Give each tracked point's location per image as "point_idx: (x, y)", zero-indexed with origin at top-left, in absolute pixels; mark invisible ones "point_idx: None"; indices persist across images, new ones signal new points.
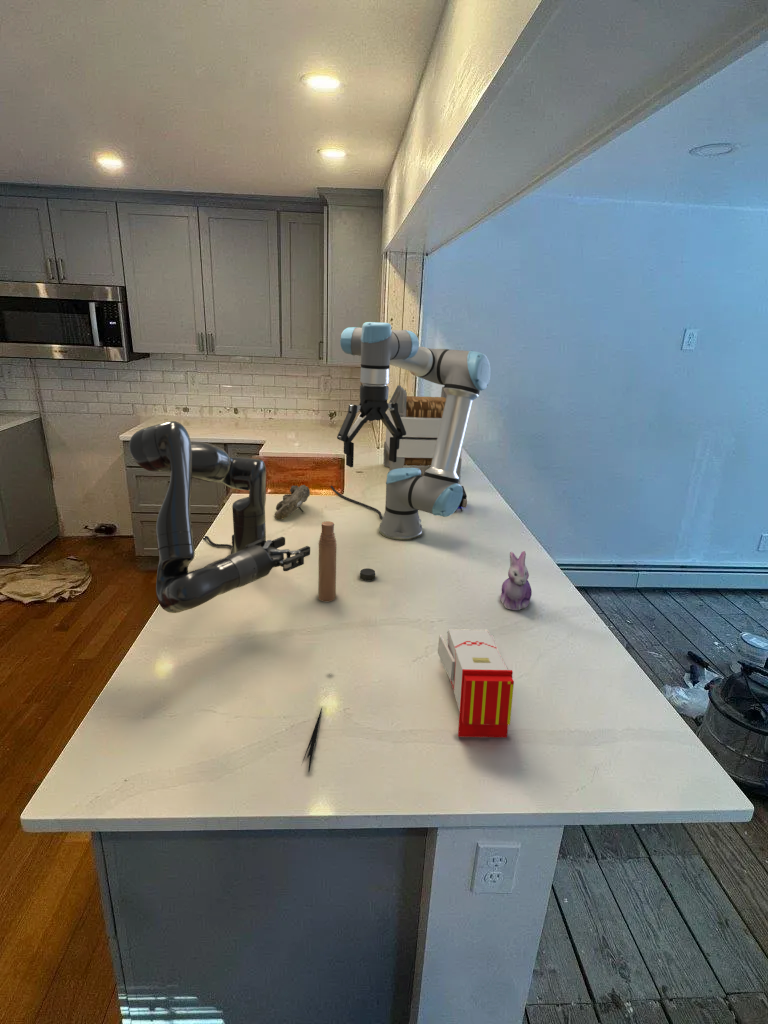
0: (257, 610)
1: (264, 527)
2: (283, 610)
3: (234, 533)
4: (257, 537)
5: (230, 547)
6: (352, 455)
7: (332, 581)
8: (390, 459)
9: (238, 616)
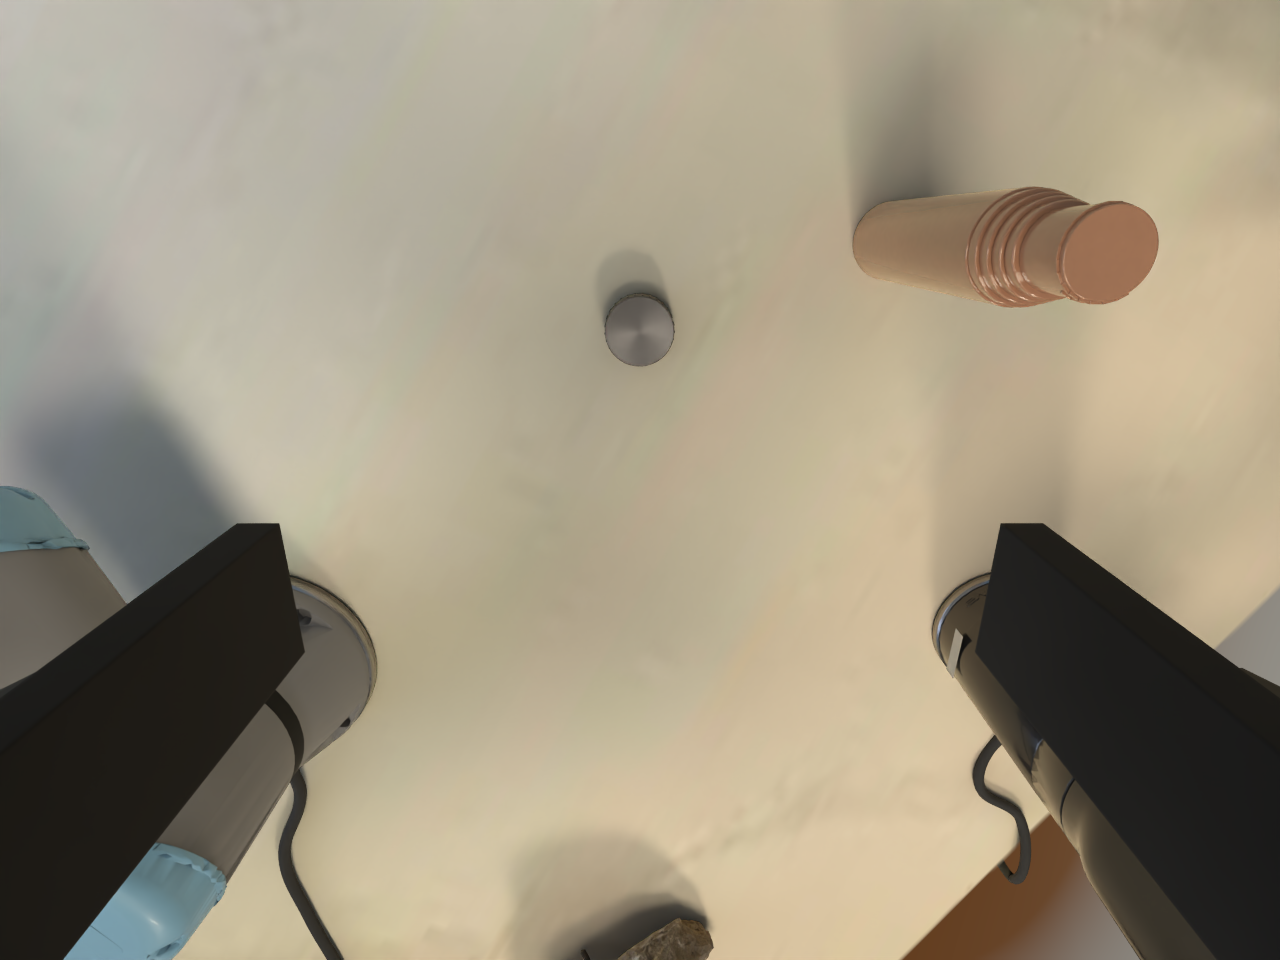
0: (1180, 272)
1: None
2: None
3: None
4: None
5: (982, 779)
6: (1144, 620)
7: (925, 197)
8: (288, 623)
9: (1265, 261)
